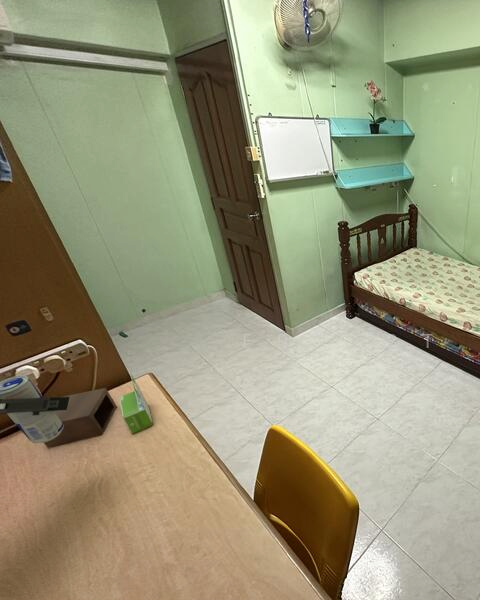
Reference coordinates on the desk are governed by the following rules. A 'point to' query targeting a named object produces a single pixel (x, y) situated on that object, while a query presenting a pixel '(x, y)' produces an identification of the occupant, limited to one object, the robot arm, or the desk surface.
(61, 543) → the desk surface
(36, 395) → the beverage can
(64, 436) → the walnut shelf
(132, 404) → the ink box
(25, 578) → the desk surface
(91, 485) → the desk surface
